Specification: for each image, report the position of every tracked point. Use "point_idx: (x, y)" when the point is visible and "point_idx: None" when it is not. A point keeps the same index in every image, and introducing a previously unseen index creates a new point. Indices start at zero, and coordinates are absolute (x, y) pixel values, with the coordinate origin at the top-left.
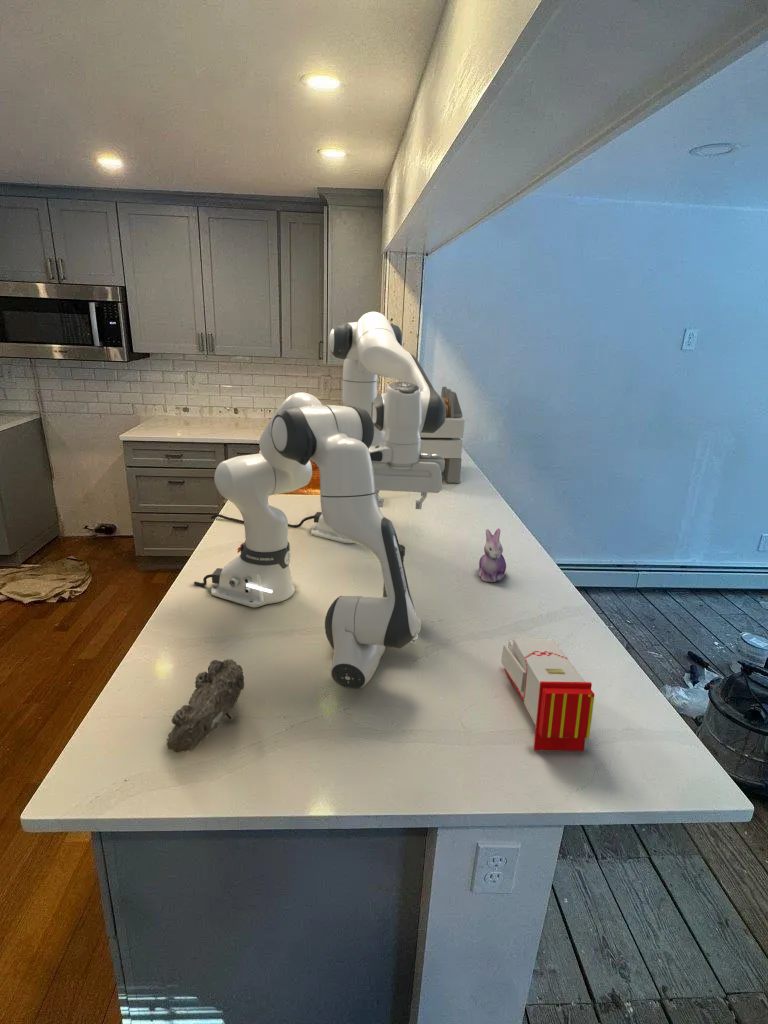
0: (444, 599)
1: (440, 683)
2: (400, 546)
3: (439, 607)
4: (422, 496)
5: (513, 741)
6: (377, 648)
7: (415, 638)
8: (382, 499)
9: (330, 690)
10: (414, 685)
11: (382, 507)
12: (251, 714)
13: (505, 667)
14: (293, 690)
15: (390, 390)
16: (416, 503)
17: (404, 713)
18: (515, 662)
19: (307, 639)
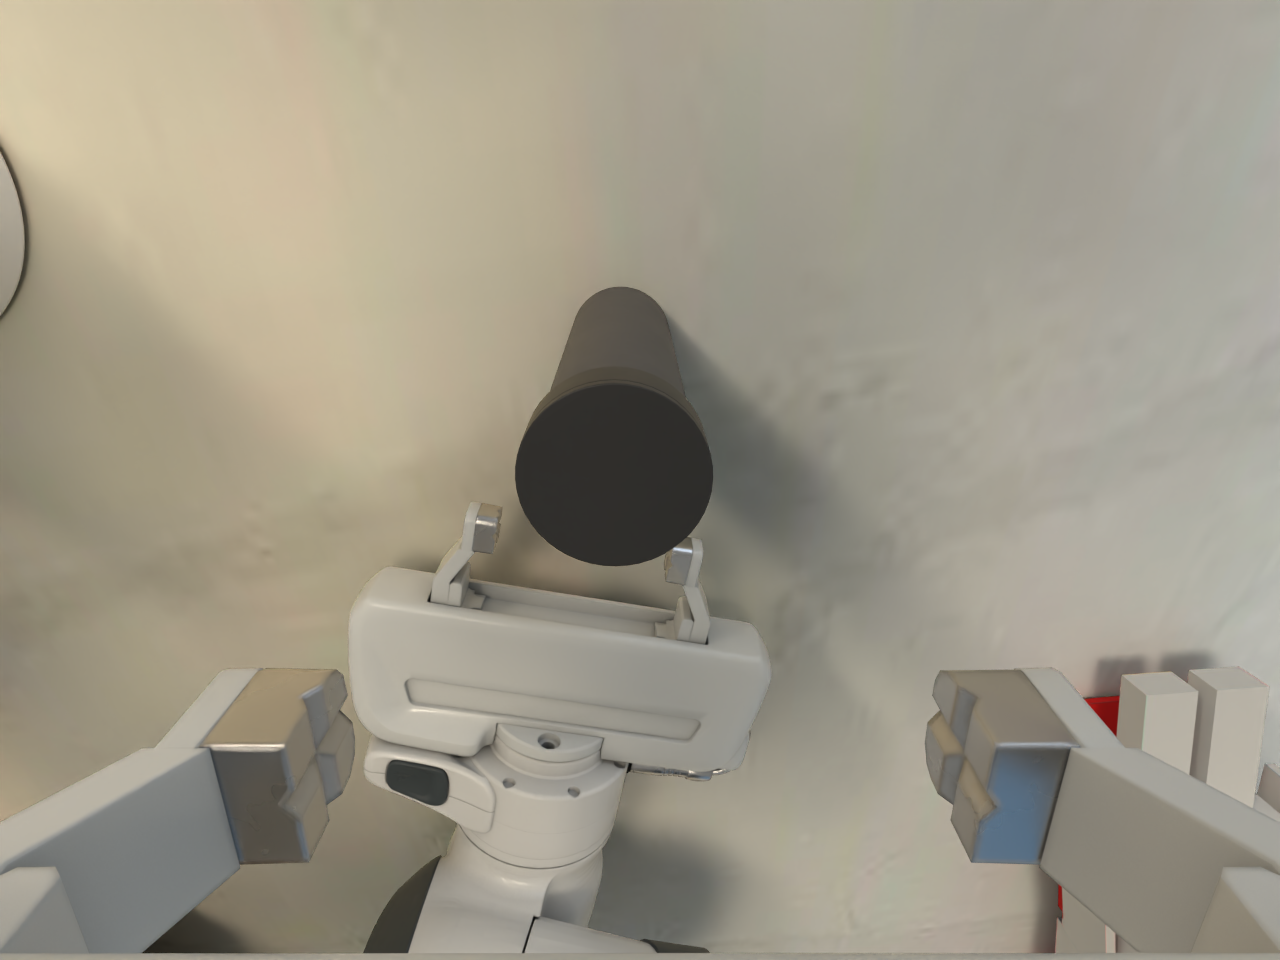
0: (937, 134)
1: (812, 782)
2: (666, 447)
3: (890, 243)
4: (1199, 896)
5: (974, 951)
6: (590, 900)
7: (740, 762)
8: (270, 772)
9: None
10: (724, 799)
11: (347, 746)
12: (270, 942)
13: None
14: (345, 856)
15: None
16: (978, 854)
17: (691, 900)
18: (1103, 936)
19: (283, 608)
